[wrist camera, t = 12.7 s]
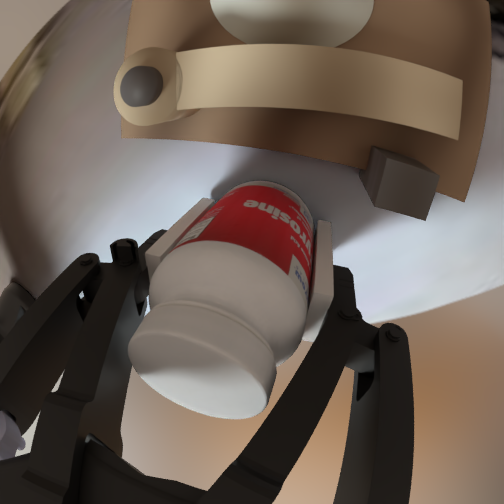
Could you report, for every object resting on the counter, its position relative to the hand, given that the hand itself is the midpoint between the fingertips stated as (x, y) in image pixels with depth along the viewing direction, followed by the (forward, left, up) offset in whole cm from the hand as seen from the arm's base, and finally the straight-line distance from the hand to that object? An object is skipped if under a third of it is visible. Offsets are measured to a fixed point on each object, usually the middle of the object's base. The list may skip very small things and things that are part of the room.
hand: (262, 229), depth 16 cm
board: (+1, +11, 0) cm, 12 cm away
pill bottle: (0, 0, -1) cm, 1 cm away
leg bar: (0, +9, +1) cm, 9 cm away
